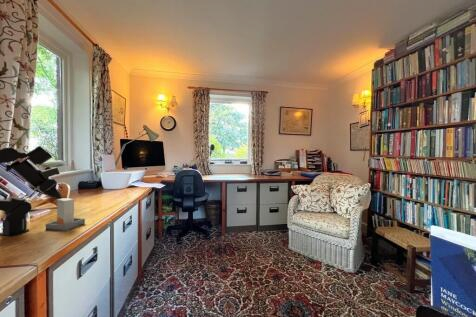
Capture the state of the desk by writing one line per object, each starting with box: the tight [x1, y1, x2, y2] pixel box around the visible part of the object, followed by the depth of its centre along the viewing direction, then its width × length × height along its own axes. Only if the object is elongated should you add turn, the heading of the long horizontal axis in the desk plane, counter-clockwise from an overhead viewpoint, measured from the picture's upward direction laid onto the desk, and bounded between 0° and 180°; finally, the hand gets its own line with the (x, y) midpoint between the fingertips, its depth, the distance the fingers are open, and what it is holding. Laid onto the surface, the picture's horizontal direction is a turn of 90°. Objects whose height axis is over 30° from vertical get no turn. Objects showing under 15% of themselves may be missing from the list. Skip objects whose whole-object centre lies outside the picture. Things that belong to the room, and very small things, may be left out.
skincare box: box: [56, 197, 75, 225], centre depth 102 cm, size 6×4×12 cm
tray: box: [45, 217, 86, 232], centre depth 102 cm, size 10×10×2 cm
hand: (57, 197), depth 103 cm, fingers open, 9 cm apart
